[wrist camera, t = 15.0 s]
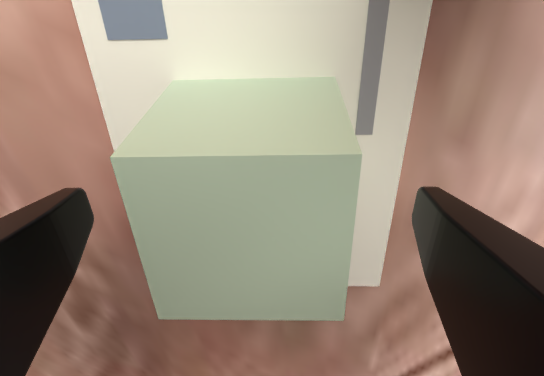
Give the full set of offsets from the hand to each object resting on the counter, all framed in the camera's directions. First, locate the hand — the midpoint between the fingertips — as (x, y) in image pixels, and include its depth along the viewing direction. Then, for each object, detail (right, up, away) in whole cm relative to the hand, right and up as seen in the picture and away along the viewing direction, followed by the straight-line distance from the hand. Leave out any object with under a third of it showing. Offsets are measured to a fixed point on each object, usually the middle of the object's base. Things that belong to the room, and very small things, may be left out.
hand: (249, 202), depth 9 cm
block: (0, +2, +2) cm, 3 cm away
